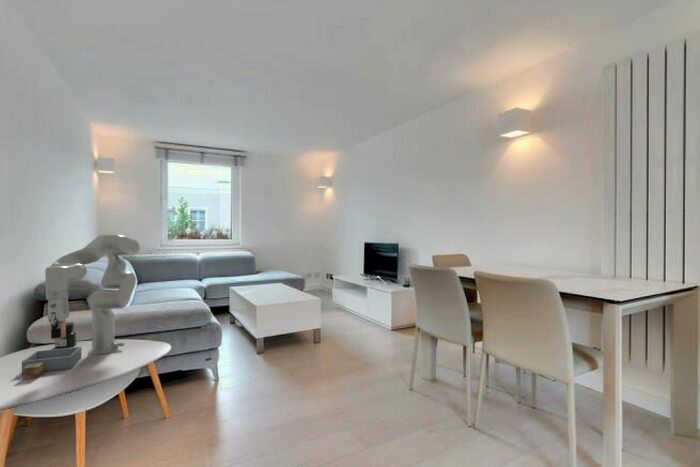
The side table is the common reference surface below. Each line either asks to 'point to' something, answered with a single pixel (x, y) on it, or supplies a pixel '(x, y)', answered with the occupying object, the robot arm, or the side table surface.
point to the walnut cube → (32, 371)
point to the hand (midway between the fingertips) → (58, 335)
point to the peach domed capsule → (62, 330)
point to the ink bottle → (67, 337)
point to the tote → (54, 358)
